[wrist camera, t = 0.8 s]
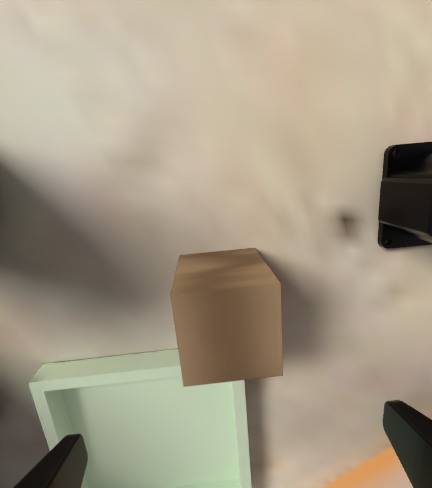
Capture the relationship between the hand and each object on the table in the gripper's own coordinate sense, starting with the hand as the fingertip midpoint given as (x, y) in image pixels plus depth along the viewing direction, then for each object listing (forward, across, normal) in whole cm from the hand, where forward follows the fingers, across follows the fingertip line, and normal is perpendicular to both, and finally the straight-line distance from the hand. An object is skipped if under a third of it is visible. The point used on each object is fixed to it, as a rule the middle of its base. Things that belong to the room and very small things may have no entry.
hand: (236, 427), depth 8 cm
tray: (+11, +6, +12) cm, 17 cm away
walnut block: (+11, 0, 0) cm, 11 cm away
